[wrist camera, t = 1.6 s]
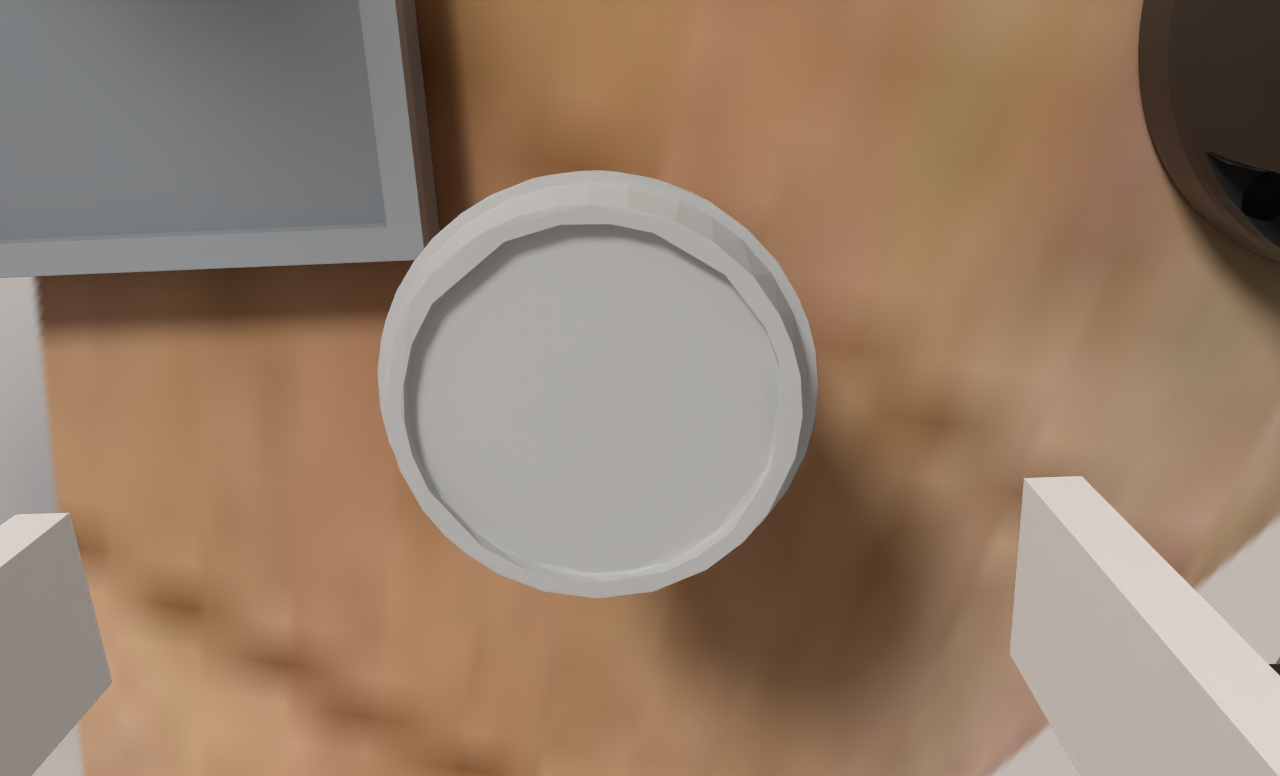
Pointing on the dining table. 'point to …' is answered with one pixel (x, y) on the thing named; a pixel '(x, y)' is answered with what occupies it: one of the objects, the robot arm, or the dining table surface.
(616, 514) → the disposable coffee cup
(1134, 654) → the robot arm
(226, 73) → the grey square tray
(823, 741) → the dining table surface
